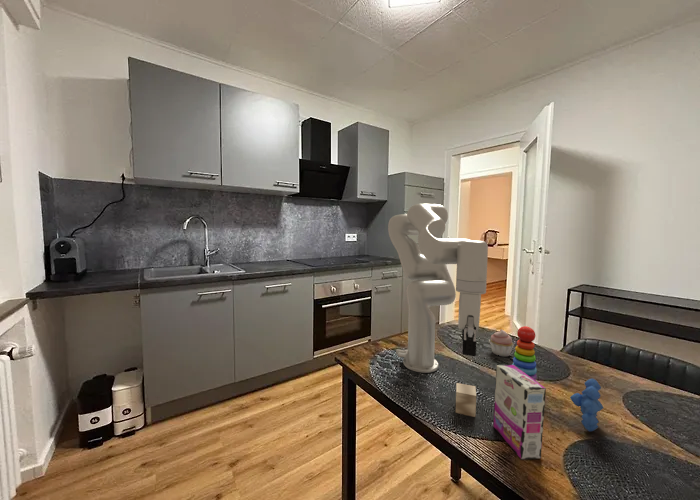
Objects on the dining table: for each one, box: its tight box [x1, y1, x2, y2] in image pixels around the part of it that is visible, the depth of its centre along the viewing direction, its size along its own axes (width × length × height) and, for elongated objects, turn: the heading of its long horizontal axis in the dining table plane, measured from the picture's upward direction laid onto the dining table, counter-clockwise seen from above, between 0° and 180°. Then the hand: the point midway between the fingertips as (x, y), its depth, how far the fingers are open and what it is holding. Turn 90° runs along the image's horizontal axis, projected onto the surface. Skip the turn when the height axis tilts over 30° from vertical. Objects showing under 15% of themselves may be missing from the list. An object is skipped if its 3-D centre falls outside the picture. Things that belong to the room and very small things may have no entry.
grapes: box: [569, 378, 604, 432], centre depth 75 cm, size 12×7×12 cm, turn 139°
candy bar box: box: [492, 364, 547, 460], centre depth 68 cm, size 11×5×16 cm, turn 5°
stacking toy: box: [511, 325, 538, 382], centre depth 94 cm, size 8×8×19 cm
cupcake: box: [488, 329, 515, 358], centre depth 117 cm, size 9×9×10 cm
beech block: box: [455, 382, 477, 418], centre depth 81 cm, size 5×5×6 cm
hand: (468, 347), depth 79 cm, fingers open, 9 cm apart
